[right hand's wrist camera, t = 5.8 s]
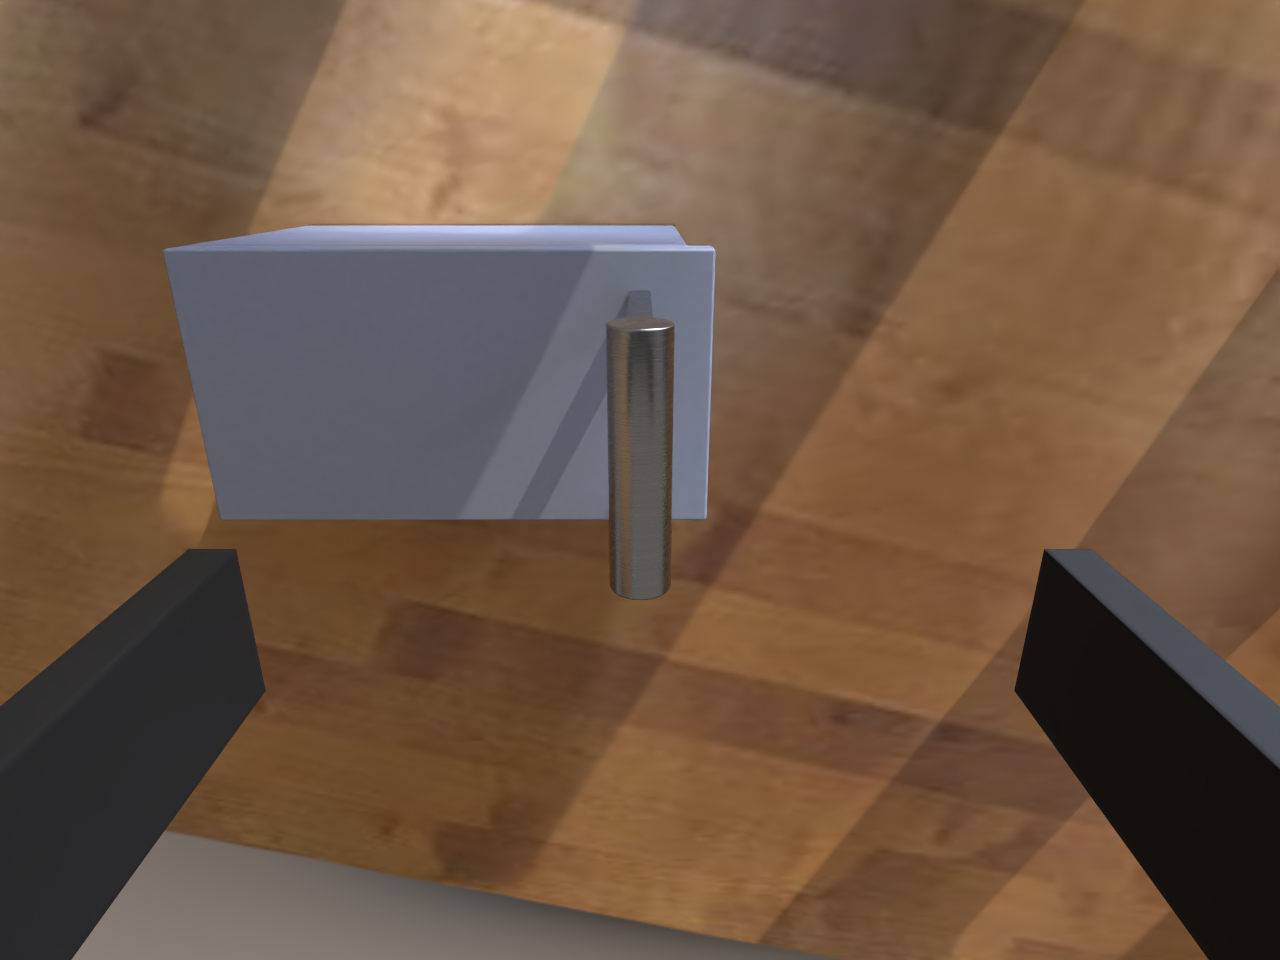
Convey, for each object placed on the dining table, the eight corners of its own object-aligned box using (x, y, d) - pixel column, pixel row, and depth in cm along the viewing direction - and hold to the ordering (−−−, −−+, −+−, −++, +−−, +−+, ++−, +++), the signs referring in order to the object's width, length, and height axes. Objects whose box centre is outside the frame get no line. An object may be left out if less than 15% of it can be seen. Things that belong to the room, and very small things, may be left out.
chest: (674, 223, 36) (688, 244, 26) (671, 418, 39) (682, 506, 29) (314, 224, 36) (183, 245, 26) (342, 418, 39) (237, 506, 29)
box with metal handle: (712, 245, 26) (746, 279, 17) (704, 506, 29) (729, 636, 21) (182, 245, 26) (-30, 279, 17) (236, 507, 29) (80, 637, 21)
